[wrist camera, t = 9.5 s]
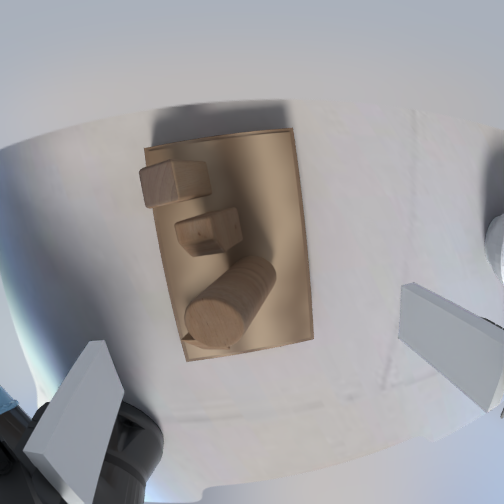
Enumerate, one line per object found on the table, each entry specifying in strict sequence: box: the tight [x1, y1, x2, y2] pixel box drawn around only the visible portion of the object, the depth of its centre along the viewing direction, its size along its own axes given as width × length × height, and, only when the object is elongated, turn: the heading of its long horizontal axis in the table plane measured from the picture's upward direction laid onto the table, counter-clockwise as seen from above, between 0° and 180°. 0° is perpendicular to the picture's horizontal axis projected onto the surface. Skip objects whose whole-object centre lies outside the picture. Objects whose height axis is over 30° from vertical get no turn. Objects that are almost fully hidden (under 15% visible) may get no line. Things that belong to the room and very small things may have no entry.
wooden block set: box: [139, 159, 276, 350], centre depth 24 cm, size 18×9×10 cm, turn 11°
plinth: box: [144, 128, 314, 362], centre depth 30 cm, size 14×22×4 cm, turn 8°
